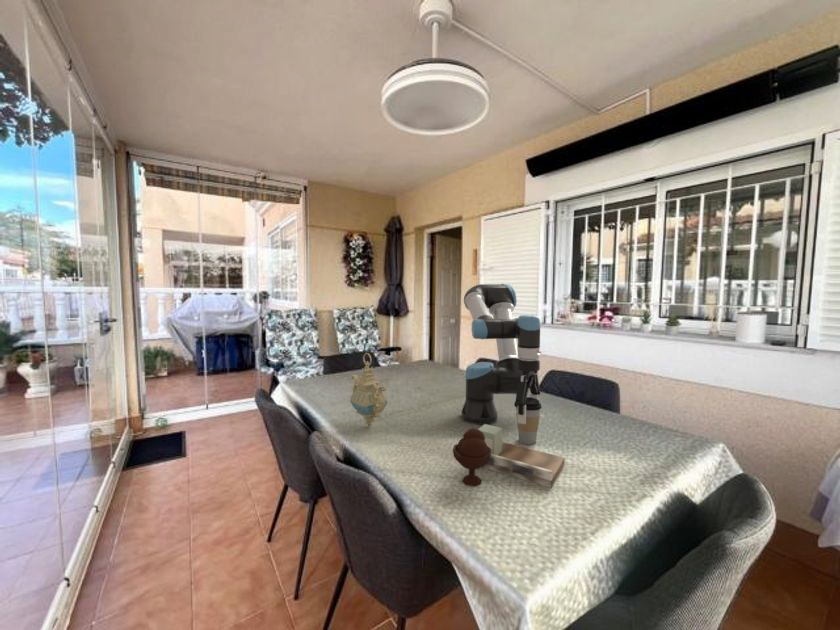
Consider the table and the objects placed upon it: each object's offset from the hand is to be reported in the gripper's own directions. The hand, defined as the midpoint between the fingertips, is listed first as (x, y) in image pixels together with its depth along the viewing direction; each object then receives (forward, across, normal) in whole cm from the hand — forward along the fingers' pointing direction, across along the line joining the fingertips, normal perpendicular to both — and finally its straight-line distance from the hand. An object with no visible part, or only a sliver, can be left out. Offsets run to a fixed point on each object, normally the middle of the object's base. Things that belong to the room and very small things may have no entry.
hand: (527, 417), depth 127 cm
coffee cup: (+9, 0, 0) cm, 9 cm away
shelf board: (+9, -18, -3) cm, 20 cm away
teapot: (+9, -22, +57) cm, 62 cm away
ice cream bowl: (+9, -35, +5) cm, 36 cm away
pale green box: (+7, -20, +6) cm, 22 cm away
